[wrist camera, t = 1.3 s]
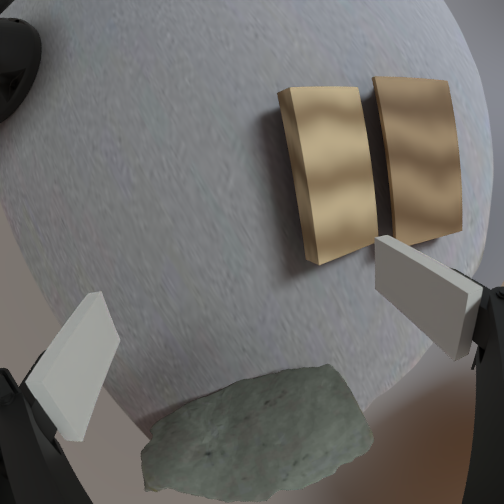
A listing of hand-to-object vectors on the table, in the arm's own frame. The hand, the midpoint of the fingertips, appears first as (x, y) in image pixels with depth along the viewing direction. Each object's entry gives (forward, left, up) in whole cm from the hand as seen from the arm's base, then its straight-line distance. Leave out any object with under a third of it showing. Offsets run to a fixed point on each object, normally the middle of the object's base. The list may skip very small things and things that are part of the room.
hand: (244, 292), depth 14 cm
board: (-2, +24, -21) cm, 32 cm away
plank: (-2, +12, -21) cm, 25 cm away
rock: (+24, -4, -21) cm, 32 cm away
